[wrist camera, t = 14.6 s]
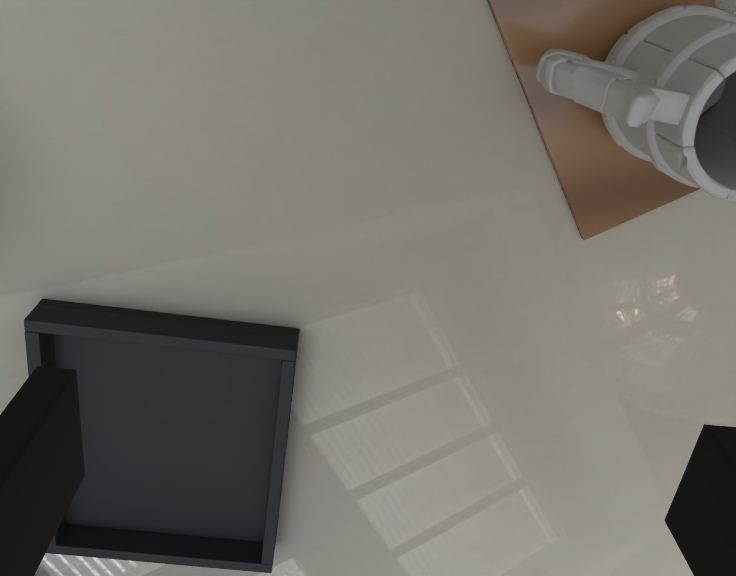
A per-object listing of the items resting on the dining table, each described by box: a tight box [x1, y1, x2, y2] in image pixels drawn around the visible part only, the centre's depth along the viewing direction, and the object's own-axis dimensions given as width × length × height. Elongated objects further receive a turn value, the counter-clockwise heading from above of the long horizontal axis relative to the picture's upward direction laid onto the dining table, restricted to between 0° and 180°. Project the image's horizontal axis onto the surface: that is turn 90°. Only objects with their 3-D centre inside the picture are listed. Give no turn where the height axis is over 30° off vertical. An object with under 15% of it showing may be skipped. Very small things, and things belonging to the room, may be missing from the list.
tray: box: [24, 299, 300, 573], centre depth 45 cm, size 19×16×3 cm
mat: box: [488, 0, 716, 240], centre depth 36 cm, size 16×10×1 cm, turn 27°
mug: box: [536, 4, 736, 201], centre depth 30 cm, size 8×12×12 cm, turn 80°
